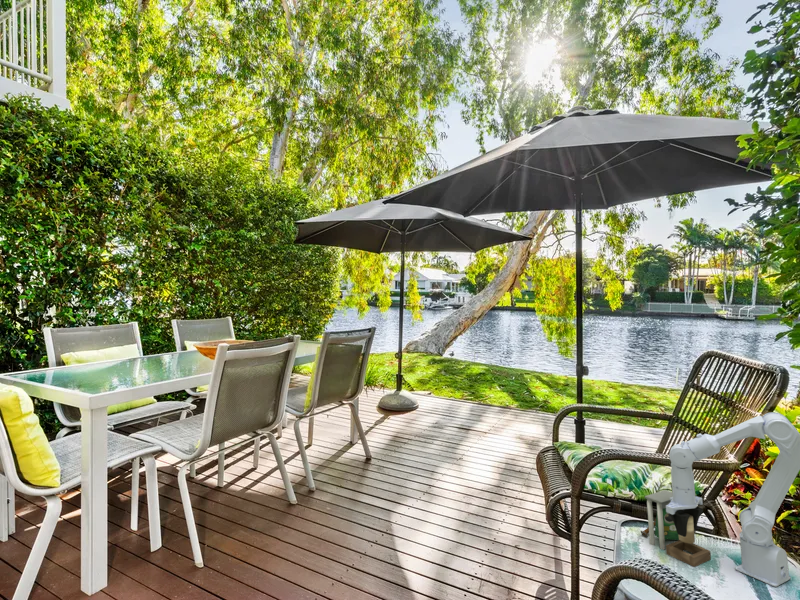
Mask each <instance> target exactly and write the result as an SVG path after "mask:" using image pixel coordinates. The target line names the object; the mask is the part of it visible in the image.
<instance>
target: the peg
mask: <svg viewBox="0 0 800 600" xmlns="http://www.w3.org/2000/svg"><path fill="white" fill-rule="evenodd" d="M685 514H686V513H685ZM688 515H689V514H688ZM678 535H679V534H678ZM695 539H696V537H695V533H694V523H693V516H692V515H690V517H689V519H688V522H687V534H686V537H683V536H681V535H679V540H680V541H682V542H685V543H693V544H695V542H696V540H695Z"/></svg>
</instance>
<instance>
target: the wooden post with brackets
mask: <svg viewBox="0 0 800 600" xmlns="http://www.w3.org/2000/svg"><path fill="white" fill-rule="evenodd" d="M653 523H654V535H655V525H656V518H655V519H654V520H653ZM640 533H641V536H643V537H646V538H648V535H649V526H647V528H646V529H644V530H640Z"/></svg>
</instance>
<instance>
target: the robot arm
mask: <svg viewBox="0 0 800 600" xmlns="http://www.w3.org/2000/svg"><path fill="white" fill-rule="evenodd" d="M765 435H766V436H767V437H768V439H770V440H771V441H772V442H774V444H775V445H776V447H777V448H778V450H779V453H778V455H777V457H776V459H775V461H774V463H773V465H772V466H771V468H770V470H769V472H768V474H767V476H766V478H765V480H764V482H763V483H762V484H761V488H760V489H759V491H758V493H757V495H756V497H755V499H754V500H753V501H752V502H750V504H749V505H748V507H747V508H745V509H743V510H742V511H740V513H739V517H738V518H739V522H740V523H741V532H739V546H740V555H741V556H740V557H741V558H740V559H741V564H739V565H737V566H735V567H734V570H736V571H737V572H741V573H742V574H744V575H747V576H749V577H751V578H754V579H756V580H758V581H760V582H763V583H766V584H767V585H770V586H772V587H778V586H780V585H782V584H783V583H786V582H787V581H789V580H791V576H790V573H789V564H788V563H789V560H788V554H787V552H786V550H785V549H784V548H781V547H779V546H778V545H776V544H775V543H774V540H773V533H772V530H773V528H774V526H775V525H774V524H775V520H776V514H777V512H778V511H779V508H780V507H781V505H782V504H783V501H784V499H785V497H786V495H787V494H788V492H789V490H790V488H791V486H792V485H793V483H794V481H795V479H796V477H797V476H798V474H799V472H800V432H799V431H798V430H797V429H796V427H795V426H794V424H793V423H792V422H791V421H790V420H789V419H788V418H787V417H786V416H785V415H784V414H781V413H780V412H779V413H778V412H772V411H771V412H767V413H765V414H763V415H758V416H755V417H752V418H750V419H747V420H745V421H743V422H741V423H739V424H737V425H734V426H732V427H730V428H728V429H725V430H723V431H722V432H721V431H720V432H719V433H716V434H714V435H713V434H712V435H711V434H708V433H704V434H702V433H697V434H696V437H694V438H691V439H690V440H687V441H684V440H682V441H680V443H678V444H677V443H675V444H673V446H671V448H670V450H669V455H668V456H669V460H670V468H671V469H670V476H671V491H672V493H673V497H670V500H671V502H670V503H669V504H668V505H666V512H667V513H669V515H670V516H671V518H672V520H673V522H674V525H675V527H676V530H677V533H678V534H679V535H681V536H683V537H686V534H687V522H688V519H689V517H690V515H692V516H693V523H694V534H695V533H696V531H697V527H698V522H699V519H700V517H701V515H702V513H703V508H702V507H700V506H701V505H702V506H703V505H704V504H703V498H702V497H700V496H697V495H696V488H695V487H696V486H695V477H694V471H693V463H694V462H699V461H702V460H704V459H706V458H709V457H712V456H714V455H717V454H719V453H720V451H721V449H722V447H723V446H727V445H729V444H733V443H736V442H739V441H741V440H745V439H747V438H752V437H753V438H757V439H763V440H766V437H765ZM699 505H700V506H699ZM698 506H699V507H698ZM685 513H686V514H685ZM688 514H689V515H688Z"/></svg>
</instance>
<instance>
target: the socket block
mask: <svg viewBox="0 0 800 600" xmlns="http://www.w3.org/2000/svg"><path fill="white" fill-rule="evenodd" d="M665 552H666V555H668V556H669V557H672V558H674V559H677V560H678V561H681V562H683V563H685V564H687V565H690V566H692V567H693V568H696V567H698V566H700V565H702V564H704V563H707V562H709V561H711V560H712V555H711V554H712V553H711V550H710V549H708V548H705V547H702V546H700V545H698V544H695V543H685V542H682V541H680V540H675V541H673V542H671V543H669V544H665Z"/></svg>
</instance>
